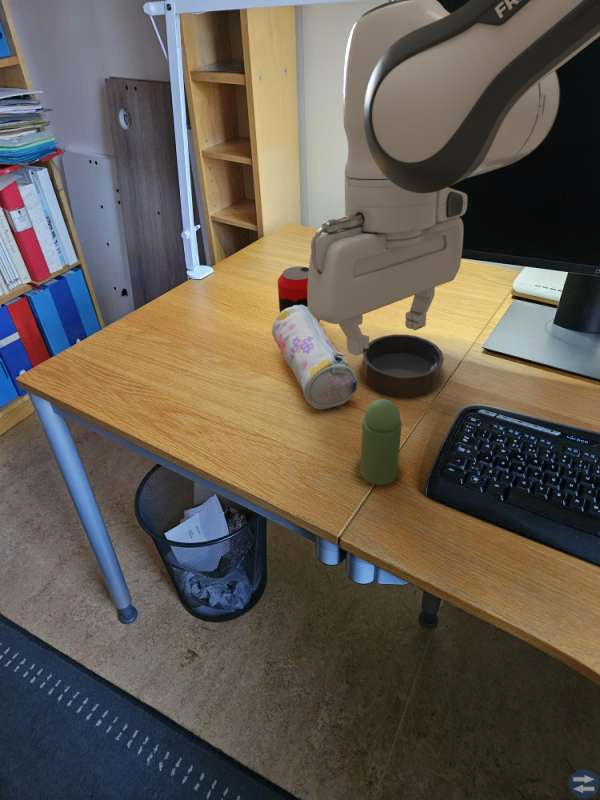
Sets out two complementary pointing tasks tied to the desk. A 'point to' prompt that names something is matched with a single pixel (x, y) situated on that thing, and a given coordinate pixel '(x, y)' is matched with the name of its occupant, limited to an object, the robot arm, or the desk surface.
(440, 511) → the desk surface
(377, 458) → the green dome-topped cylinder
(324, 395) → the pencil case
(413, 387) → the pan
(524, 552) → the desk surface
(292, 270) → the soda can
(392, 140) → the robot arm
